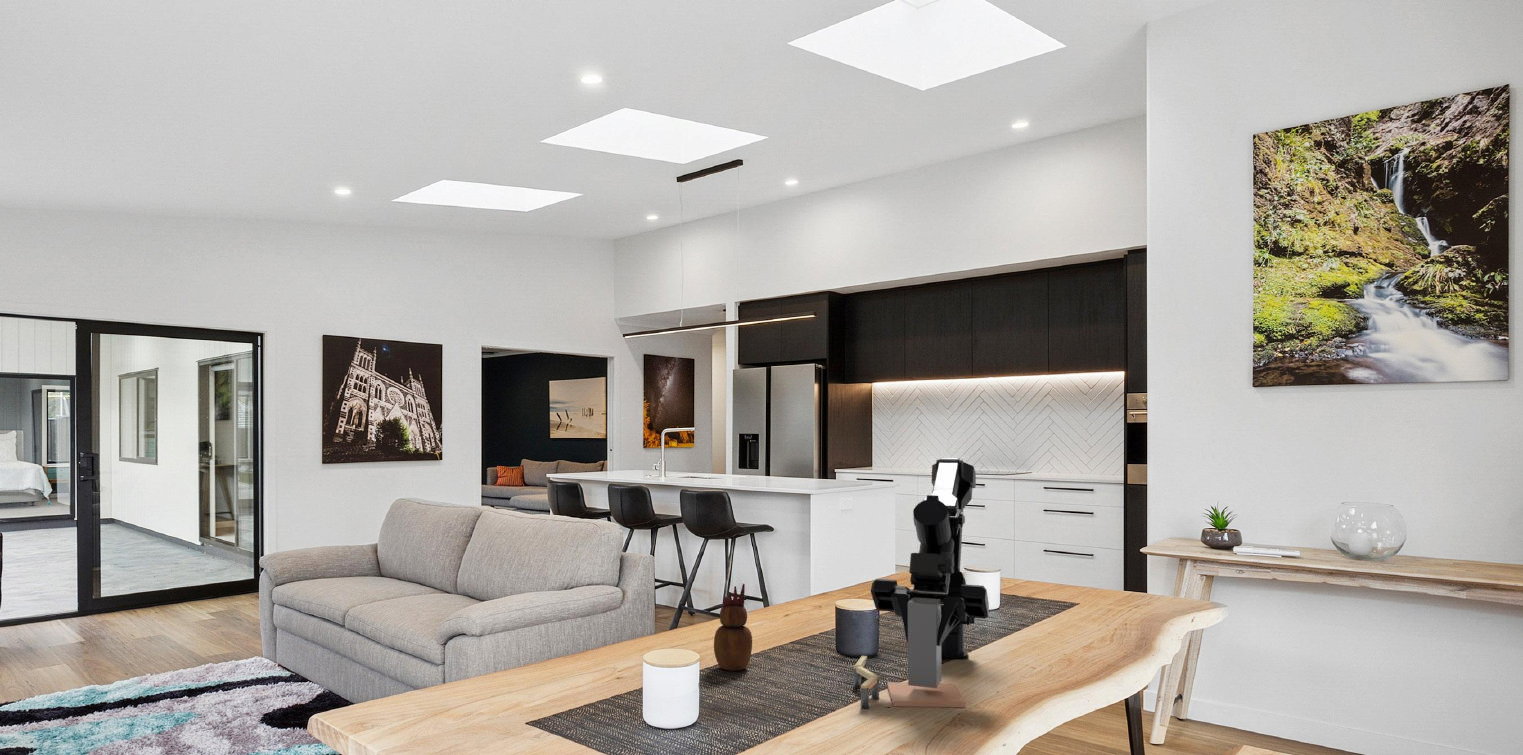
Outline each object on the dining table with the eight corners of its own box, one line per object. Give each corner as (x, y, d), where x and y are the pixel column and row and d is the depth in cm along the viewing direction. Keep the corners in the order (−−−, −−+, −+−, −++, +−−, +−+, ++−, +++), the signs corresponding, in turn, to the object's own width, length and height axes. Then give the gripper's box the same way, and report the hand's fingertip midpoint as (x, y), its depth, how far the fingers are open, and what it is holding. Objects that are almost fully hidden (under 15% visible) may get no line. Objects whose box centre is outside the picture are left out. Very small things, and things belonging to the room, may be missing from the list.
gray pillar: (908, 685, 142) (907, 602, 143) (913, 677, 146) (913, 597, 147) (936, 688, 141) (935, 604, 141) (941, 680, 145) (940, 599, 145)
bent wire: (851, 675, 156) (851, 655, 156) (873, 676, 155) (873, 655, 156) (857, 708, 137) (857, 685, 138) (882, 709, 137) (881, 686, 137)
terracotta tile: (887, 687, 149) (887, 682, 149) (954, 688, 148) (954, 683, 148) (893, 706, 139) (893, 700, 139) (965, 707, 138) (965, 701, 138)
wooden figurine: (756, 666, 162) (756, 582, 162) (745, 674, 156) (745, 587, 157) (721, 663, 164) (721, 580, 165) (709, 671, 158) (709, 585, 159)
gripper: (872, 530, 152) (856, 609, 141) (985, 535, 145) (977, 618, 134) (883, 570, 159) (869, 648, 148) (992, 577, 152) (984, 659, 141)
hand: (923, 643), depth 143 cm, fingers closed on gray pillar, 4 cm apart
